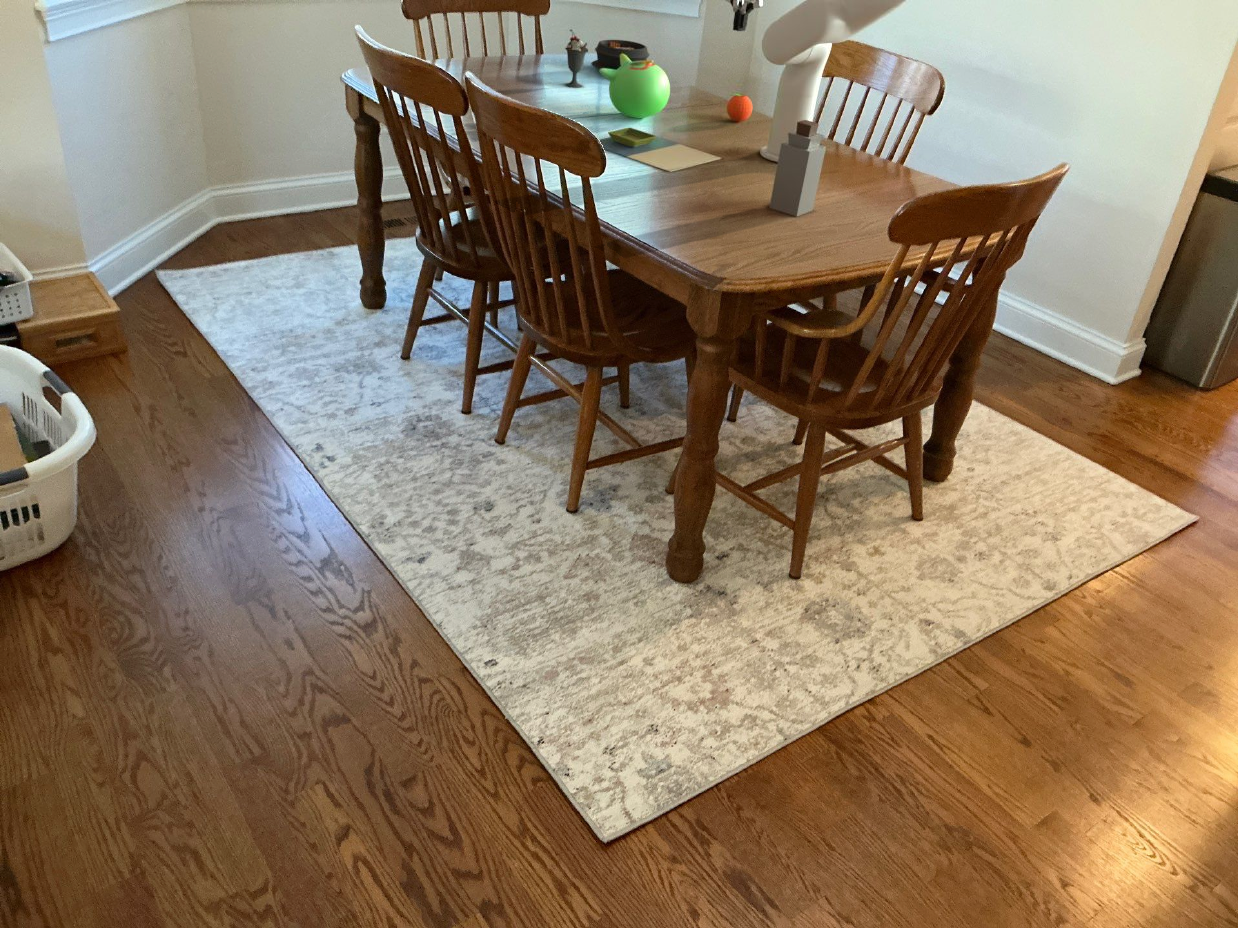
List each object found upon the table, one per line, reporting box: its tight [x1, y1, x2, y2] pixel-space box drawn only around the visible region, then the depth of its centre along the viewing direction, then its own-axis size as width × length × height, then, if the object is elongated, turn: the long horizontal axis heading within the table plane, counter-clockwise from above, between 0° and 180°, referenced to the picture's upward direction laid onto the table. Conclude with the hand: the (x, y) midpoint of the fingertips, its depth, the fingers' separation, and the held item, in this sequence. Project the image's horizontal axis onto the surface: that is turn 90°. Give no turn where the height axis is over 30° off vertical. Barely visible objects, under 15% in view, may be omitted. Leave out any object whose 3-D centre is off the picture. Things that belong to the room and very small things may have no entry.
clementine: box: [724, 93, 753, 123], centre depth 267 cm, size 8×7×7 cm
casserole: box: [590, 39, 650, 70], centre depth 304 cm, size 25×19×8 cm
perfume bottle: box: [768, 120, 827, 217], centre depth 204 cm, size 7×7×18 cm
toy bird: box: [598, 54, 671, 119], centre depth 259 cm, size 18×17×15 cm
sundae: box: [564, 29, 589, 89], centre depth 282 cm, size 7×7×15 cm
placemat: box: [598, 136, 722, 173], centre depth 236 cm, size 26×20×1 cm
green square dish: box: [607, 127, 657, 147], centre depth 239 cm, size 9×9×2 cm
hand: (739, 30), depth 243 cm, fingers closed
